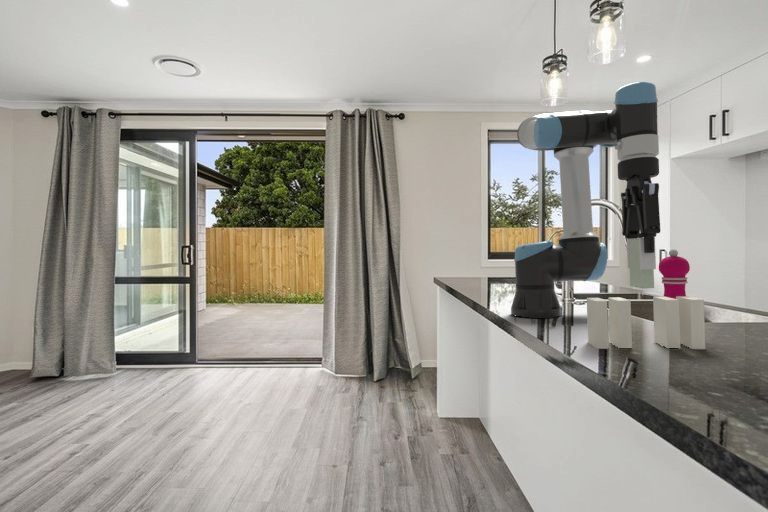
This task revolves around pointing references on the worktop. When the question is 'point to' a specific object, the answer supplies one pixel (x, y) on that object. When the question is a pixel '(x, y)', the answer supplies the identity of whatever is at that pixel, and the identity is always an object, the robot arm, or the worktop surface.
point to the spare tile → (636, 275)
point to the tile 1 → (597, 323)
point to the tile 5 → (692, 322)
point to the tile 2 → (620, 322)
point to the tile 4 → (666, 322)
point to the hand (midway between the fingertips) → (641, 268)
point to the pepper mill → (674, 274)
